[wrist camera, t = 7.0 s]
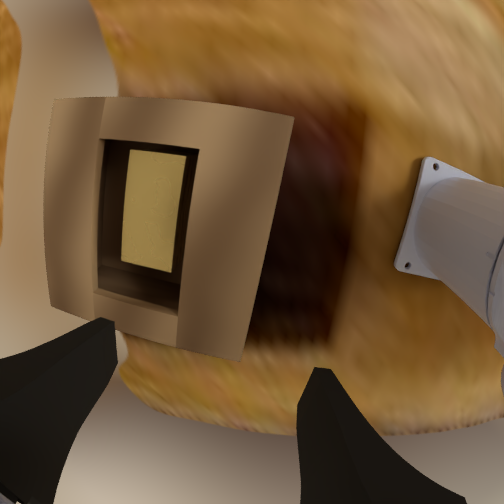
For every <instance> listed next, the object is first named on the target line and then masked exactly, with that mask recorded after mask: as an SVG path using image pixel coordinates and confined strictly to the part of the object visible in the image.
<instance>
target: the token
mask: <svg viewBox="0 0 504 504" xmlns="http://www.w3.org/2000/svg"><path fill="white" fill-rule="evenodd" d="M198 156H199V154H192V153H185V152H177V151H170V150H162V149H131V150H130V156H129V164H128V172H127V180H126V190H125V201H124V214H123V230H122V254H121V261H125V262H129V263H133V264H137V265H141V266H145V267H150V268H154V269H158V270H162V271H167V272H172V271H173V270H174V268H175V267H176V266H177V265H178V264H179V262H180V261H181V260H182V259H183V257H184V251H185V243H186V235H187V227H188V220H189V213H190V206H191V199H192V192H193V186H194V180H195V174H196V168H197V162H198Z"/></svg>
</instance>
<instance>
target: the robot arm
mask: <svg viewBox="0 0 504 504" xmlns="http://www.w3.org/2000/svg"><path fill="white" fill-rule="evenodd" d="M434 163H435V164H436V169H435V170H434V169H433V165H434ZM407 262H409V265H408V266H407V267H405V264H406V263H407ZM394 267H395V268H396V269H397V270H398V271H401V272H406V273H410V274H415V275H419V276H424V277H428V278H432V279H437V280H441V281H442V282H443V283H444V284H445V285H447V286H448V287H449V288H450V289H451V290H452V291H453V292H454V293H455V294H456V295H457V296H459V297H460V298H461V299H462V300H463V301H464V302H465V303H466V304H467V305H468V306H469V307H470V308H471V309H472V310H473V311H474V312H475V313H476V314H477V315H478V316H479V317H480V318H481V319H482V320H483V321H484V322H485V323H486V324H487V325H488V326H489V327H490V328H491V329H492V330H493V331H494V333H495V337H496V340H495V345H494V347H495V348H496V350H497V351H498V352H499V353H500V354H501V355H502V357H503V358H504V187H500V186H496V185H492V184H488V183H485V182H483V181H482V180H480V179H478V178H476V177H474V176H472V175H470V174H468V173H466V172H463V171H461V170H459V169H457V168H455V167H453V166H451V165H448V164H446V163H444V162H442V161H439V160H437V159H435V158H432V157H425V158H424V159H423V160H422V164H421V168H420V173H419V177H418V181H417V186H416V190H415V194H414V198H413V201H412V205H411V209H410V212H409V216H408V220H407V223H406V226H405V230H404V233H403V236H402V240H401V243H400V246H399V249H398V252H397V255H396V258H395V261H394ZM117 364H118V360H117V350H116V336H115V321H112V320H109V319H106V318H103V317H99V318H97V319H95V320H92V321H90V322H88V323H86V324H84V325H82V326H80V327H78V328H76V329H74V330H72V331H70V332H68V333H66V334H64V335H62V336H60V337H58V338H56V339H54V340H52V341H49V342H47V343H44V344H42V345H40V346H38V347H35V348H33V349H30V350H28V351H25V352H22V353H19V354H16V355H13V356H9V357H6V358H2V359H0V504H16V502H17V501H18V502H19V503H21V504H53V502H54V498H55V493H56V489H57V486H58V483H59V479H60V476H61V473H62V470H63V467H64V464H65V462H66V459H67V456H68V454H69V451H70V449H71V446H72V444H73V442H74V440H75V438H76V435H77V433H78V431H79V429H80V428H81V426H82V424H83V423H84V421H85V419H86V418H87V416H88V415H89V413H90V411H91V410H92V408H93V407H94V405H95V403H96V402H97V401H98V399H99V397H100V396H101V394H102V393H103V391H104V390H105V388H106V386H107V385H108V383H109V381H110V379H111V377H112V375H113V372H114V370H115V368H116V366H117ZM501 387H502V392H503V395H504V365H503V369H502V372H501ZM296 429H297V440H298V451H299V463H300V475H301V500H300V504H467V503H466V500H465V497H463V496H460V495H458V494H456V493H454V492H452V491H450V490H448V489H446V488H444V487H442V486H441V485H439V484H437V483H435V482H434V481H432V480H431V479H429V478H428V477H426V476H425V475H423V474H422V473H420V472H419V471H418V470H416V469H415V468H414V467H413V466H411V465H410V464H409V463H407V462H406V461H405V460H404V459H403V458H402V457H401V456H399V455H398V454H397V453H396V452H395V451H394V450H393V449H392V448H391V447H390V446H389V445H388V444H387V443H386V442H385V441H384V440H383V439H382V438H381V437H380V435H379V434H378V433H377V432H376V431H375V430H374V428H373V427H372V426H371V425H370V424H369V422H368V421H367V420H366V419H365V417H364V416H363V415H362V413H361V412H360V411H359V409H358V408H357V407H356V405H355V404H354V402H353V401H352V400H351V398H350V397H349V395H348V394H347V392H346V391H345V389H344V388H343V386H342V385H341V383H340V382H339V380H338V379H337V377H336V376H335V374H334V373H333V372H332V370H331V369H326V368H318V367H314V369H313V372H312V374H311V376H310V378H309V381H308V383H307V385H306V387H305V389H304V392H303V394H302V396H301V398H300V400H299V402H298V404H297V427H296Z"/></svg>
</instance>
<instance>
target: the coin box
mask: <svg viewBox="0 0 504 504" xmlns="http://www.w3.org/2000/svg"><path fill="white" fill-rule="evenodd" d="M293 122H294V117H291V116H286V115H282V114H277V113H272V112H267V111H261V110H256V109H250V108H244V107H238V106H231V105H224V104H216V103H208V102H199V101H190V100H178V99H165V98H146V97H84V98H66V99H54V103H53V108H52V114H51V120H50V127H49V134H48V142H47V152H46V163H45V178H44V242H45V258H46V269H47V278H48V287H49V295H50V302H51V306H52V307H55V308H57V309H60V310H62V311H65V312H67V313H70V314H73V315H75V316H78V317H81V318H83V319H86V320H89V321H92V320H95V319H97V318H99V317H103V318H106V319H109V320H112V321H115V330H118V331H121V332H124V333H128V334H131V335H134V336H137V337H141V338H144V339H147V340H151V341H154V342H158V343H162V344H165V345H169V346H173V347H176V348H180V349H184V350H188V351H192V352H197V353H201V354H205V355H209V356H214V357H218V358H223V359H228V360H233V361H238V362H240V361H241V357H242V353H243V349H244V344H245V340H246V336H247V331H248V327H249V323H250V318H251V314H252V310H253V305H254V301H255V297H256V292H257V288H258V283H259V279H260V275H261V270H262V266H263V261H264V257H265V252H266V248H267V243H268V239H269V234H270V230H271V225H272V221H273V216H274V211H275V207H276V202H277V198H278V193H279V188H280V184H281V179H282V174H283V170H284V165H285V160H286V155H287V151H288V146H289V141H290V136H291V131H292V127H293ZM131 149H162V150H170V151H177V152H185V153H192V154H199V156H198V162H197V168H196V174H195V180H194V186H193V192H192V199H191V206H190V213H189V220H188V227H187V235H186V243H185V251H184V257H183V259H182V260H181V261H180V262H179V264H178V265H177V266H176V267H175V268H174V270H173V271H172V272H167V271H162V270H158V269H154V268H150V267H145V266H141V265H137V264H133V263H129V262H125V261H121V254H122V230H123V214H124V201H125V190H126V180H127V172H128V164H129V156H130V150H131Z"/></svg>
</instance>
